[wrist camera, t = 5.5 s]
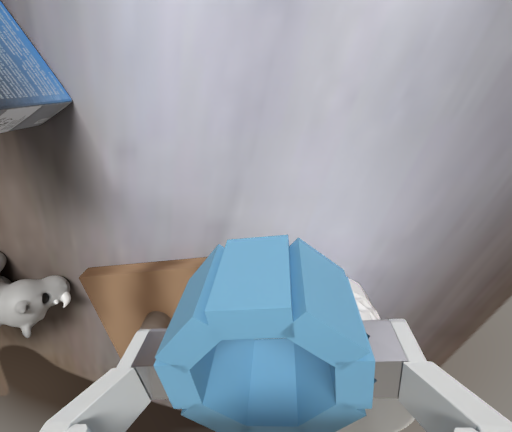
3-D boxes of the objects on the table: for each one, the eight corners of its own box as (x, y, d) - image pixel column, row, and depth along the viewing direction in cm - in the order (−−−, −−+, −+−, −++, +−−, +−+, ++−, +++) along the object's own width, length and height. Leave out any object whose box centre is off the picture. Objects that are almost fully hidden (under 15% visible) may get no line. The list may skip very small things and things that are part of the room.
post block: (207, 257, 26) (175, 343, 17) (230, 346, 31) (214, 447, 22) (88, 267, 27) (4, 353, 19) (129, 351, 32) (78, 449, 24)
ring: (347, 229, 10) (379, 303, 7) (347, 352, 13) (369, 444, 10) (173, 244, 11) (129, 315, 8) (210, 356, 14) (189, 441, 11)
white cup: (287, 273, 26) (294, 373, 17) (373, 265, 25) (428, 366, 16) (295, 333, 30) (305, 442, 21) (371, 327, 29) (417, 440, 20)
